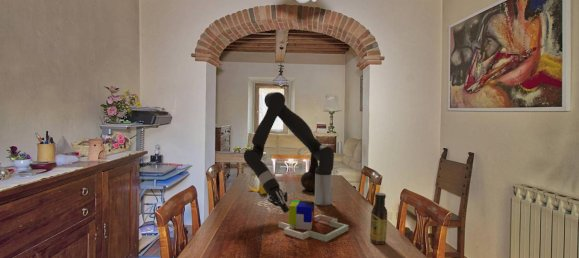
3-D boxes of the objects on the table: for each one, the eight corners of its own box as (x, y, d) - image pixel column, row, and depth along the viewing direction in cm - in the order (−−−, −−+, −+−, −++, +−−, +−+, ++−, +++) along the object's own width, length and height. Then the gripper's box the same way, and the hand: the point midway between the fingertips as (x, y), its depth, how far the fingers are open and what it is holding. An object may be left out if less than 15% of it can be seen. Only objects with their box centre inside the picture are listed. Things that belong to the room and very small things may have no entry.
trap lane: (271, 229, 141) (271, 224, 141) (307, 215, 162) (308, 211, 162) (319, 245, 125) (319, 239, 125) (353, 227, 146) (353, 222, 146)
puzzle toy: (310, 230, 142) (311, 207, 141) (288, 227, 144) (289, 205, 143) (313, 222, 152) (314, 201, 151) (292, 220, 154) (293, 200, 153)
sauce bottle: (367, 239, 132) (369, 191, 132) (382, 239, 133) (384, 191, 132) (373, 245, 126) (375, 195, 125) (388, 245, 126) (390, 195, 126)
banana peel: (265, 196, 198) (265, 169, 197) (247, 190, 212) (247, 165, 211) (285, 192, 209) (285, 167, 209) (266, 187, 223) (267, 163, 223)
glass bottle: (329, 188, 224) (330, 148, 222) (323, 194, 207) (324, 150, 206) (304, 186, 229) (305, 146, 228) (297, 191, 213) (298, 149, 211)
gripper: (263, 179, 153) (282, 210, 146) (281, 175, 164) (300, 204, 156) (255, 188, 157) (273, 219, 150) (273, 184, 167) (291, 213, 160)
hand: (287, 211), depth 153 cm, fingers closed
